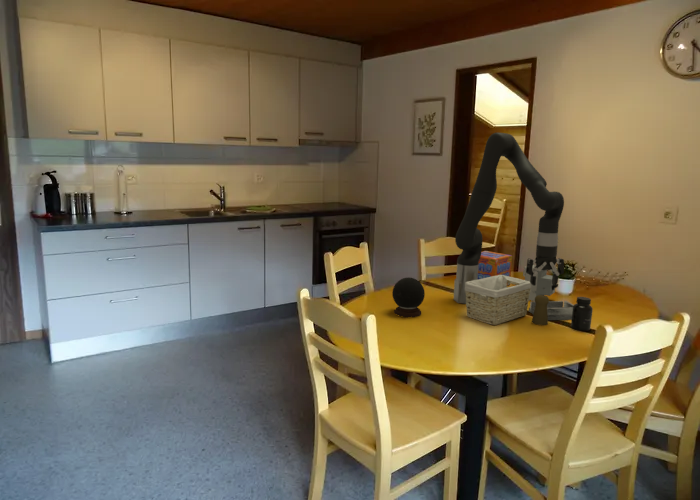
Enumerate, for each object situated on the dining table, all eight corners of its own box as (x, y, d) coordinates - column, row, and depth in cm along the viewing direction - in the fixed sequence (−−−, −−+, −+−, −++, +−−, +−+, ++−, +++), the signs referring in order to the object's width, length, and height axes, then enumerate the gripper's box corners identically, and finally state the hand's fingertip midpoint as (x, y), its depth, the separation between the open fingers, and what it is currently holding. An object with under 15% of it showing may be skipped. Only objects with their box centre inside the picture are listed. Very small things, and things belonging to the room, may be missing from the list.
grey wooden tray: (542, 320, 200) (543, 309, 199) (528, 311, 211) (529, 300, 210) (580, 319, 201) (581, 308, 201) (564, 310, 213) (565, 300, 212)
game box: (510, 285, 254) (512, 255, 251) (493, 290, 243) (495, 259, 240) (483, 279, 265) (485, 250, 262) (466, 284, 255) (468, 254, 252)
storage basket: (493, 327, 191) (496, 290, 188) (460, 316, 203) (462, 281, 201) (530, 316, 205) (533, 281, 202) (497, 306, 217) (500, 273, 215)
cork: (531, 323, 195) (533, 296, 193) (532, 319, 201) (534, 292, 199) (547, 326, 193) (550, 298, 191) (548, 321, 199) (550, 294, 196)
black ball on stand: (398, 306, 215) (399, 272, 212) (427, 311, 209) (429, 276, 206) (386, 315, 203) (388, 279, 200) (417, 320, 198) (419, 283, 195)
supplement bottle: (589, 332, 186) (592, 301, 184) (569, 329, 190) (572, 298, 188) (591, 327, 192) (594, 297, 190) (572, 324, 196) (575, 294, 193)
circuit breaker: (553, 304, 221) (556, 271, 218) (521, 298, 230) (523, 266, 227) (557, 300, 227) (561, 268, 224) (526, 295, 236) (529, 264, 233)
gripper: (534, 245, 187) (530, 287, 190) (569, 245, 189) (566, 287, 192) (524, 242, 194) (522, 282, 197) (559, 242, 196) (556, 282, 199)
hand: (543, 284), depth 195 cm, fingers open, 8 cm apart
